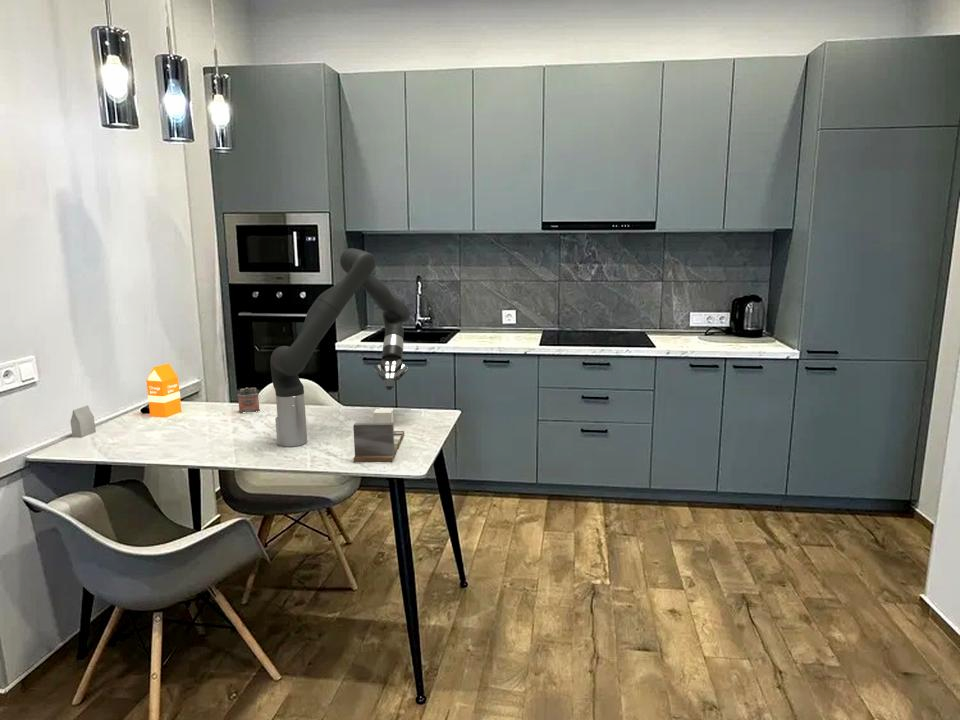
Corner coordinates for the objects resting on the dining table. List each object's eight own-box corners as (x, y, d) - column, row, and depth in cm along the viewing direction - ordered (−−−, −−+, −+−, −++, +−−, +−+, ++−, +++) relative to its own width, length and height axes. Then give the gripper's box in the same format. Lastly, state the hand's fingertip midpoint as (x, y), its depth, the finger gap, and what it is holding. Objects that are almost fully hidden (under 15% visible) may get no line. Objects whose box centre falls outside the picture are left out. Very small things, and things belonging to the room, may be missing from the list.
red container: (238, 413, 261) (236, 389, 259) (239, 411, 264) (237, 387, 262) (259, 412, 263) (257, 388, 261) (260, 410, 266) (258, 386, 264)
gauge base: (370, 435, 231) (369, 403, 229) (404, 435, 230) (403, 403, 228) (353, 462, 203) (351, 427, 201) (392, 462, 203) (390, 426, 201)
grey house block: (95, 432, 239) (92, 405, 237) (81, 437, 233) (77, 410, 231) (87, 431, 240) (83, 405, 238) (72, 437, 233) (68, 410, 231)
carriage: (377, 433, 227) (375, 408, 225) (403, 433, 227) (402, 408, 225) (373, 439, 220) (372, 414, 218) (400, 439, 220) (399, 414, 218)
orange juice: (149, 416, 259) (144, 366, 255) (166, 410, 268) (161, 362, 264) (166, 417, 257) (160, 367, 253) (182, 411, 265) (177, 363, 261)
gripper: (373, 343, 242) (369, 383, 233) (409, 343, 242) (406, 383, 232) (376, 355, 248) (372, 394, 239) (411, 354, 248) (408, 394, 239)
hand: (389, 388), depth 236 cm, fingers closed
